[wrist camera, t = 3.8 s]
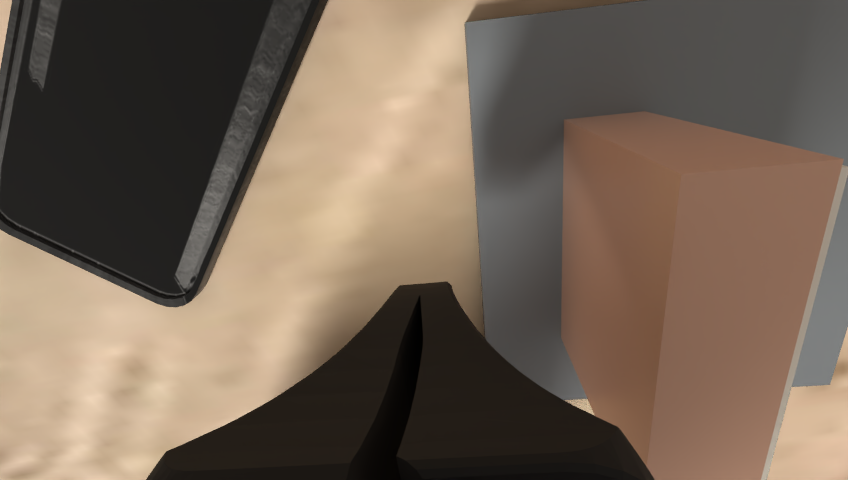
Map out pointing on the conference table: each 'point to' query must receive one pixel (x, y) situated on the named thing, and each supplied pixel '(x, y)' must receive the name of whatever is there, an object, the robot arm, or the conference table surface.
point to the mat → (635, 92)
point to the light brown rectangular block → (691, 284)
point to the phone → (141, 129)
